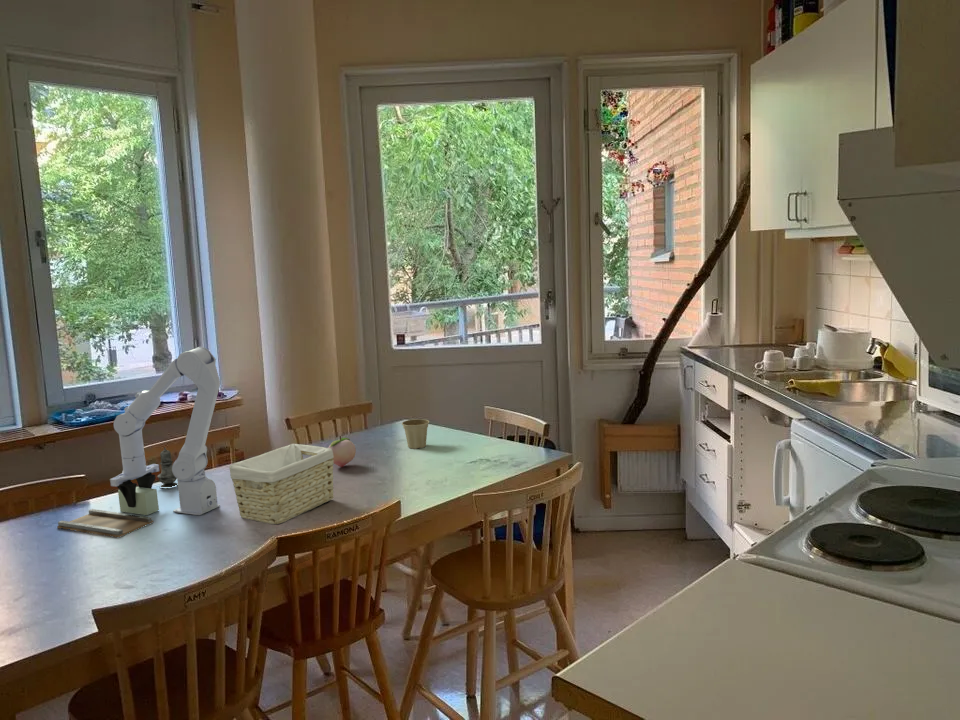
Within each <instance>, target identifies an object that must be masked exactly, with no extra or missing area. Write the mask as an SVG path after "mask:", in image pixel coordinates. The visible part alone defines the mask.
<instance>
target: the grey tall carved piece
mask: <svg viewBox="0 0 960 720" xmlns="http://www.w3.org/2000/svg"><path fill="white" fill-rule="evenodd" d="M173 463H174V461H173V460H172V455H171V451H170V450H168V449H167V448H166V447H164V448H163V450H162V451H160V463H159V465H160V466H161V472H160V473H159V474H158V475H157V478H158V480H159V482H160V483H161V485H160V486H161V487H172V486H175V485H177V484H178V482H176V481H177V478H176V477H175V476H174V474H173V472H172V465H173ZM162 484H163V485H162Z"/></svg>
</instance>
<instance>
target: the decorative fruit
mask: <svg viewBox="0 0 960 720" xmlns="http://www.w3.org/2000/svg"><path fill="white" fill-rule="evenodd" d="M327 448H331V449H332V451H333V456H334V457H333V460H334V464H333V465H336V466H337V467H340V468H343V467H345V466H346V465H347V464H349V463H350V462H351V461H353V460H354V458H355V456H356V452H357V451H356V450H357V449H356V445H355V444H354V443H353V441H351V439H350V438H348V437H342V435H340V436H339V438H338V439H336V440H333V441H332V442H331V443H330V444H329V446H328V447H327Z"/></svg>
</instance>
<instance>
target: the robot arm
mask: <svg viewBox="0 0 960 720" xmlns="http://www.w3.org/2000/svg"><path fill="white" fill-rule="evenodd" d="M216 363H217V361H216V357H215V356H214V355H213V354H212V353H211V351H210V349H208V348H205V347H204V346H198V347H197V346H196V347H195V348H193V349H191V350H188V351H184V352H181V353H180V354H179V355H178V356H177V358H175V359H174V360H172V362H171V363H170V364H169V365H168V366H167V367H166V369H165V370H164V371H163V373H162V374H161V375H160V377H159V378H158V379H156V382H155V383H154V384H153V385H152V386H151V388H150V389H149V390H142V391H139V392H137V393H135V395H134V400H133V401H132V402H131V403H130V404H129V406H125V408H124V409H123V410H124V413H120V414H118V415H116V417H115V419H114V420H113V429H114V431H115V432H116V433H117V434H118V438H119V446H120V447H119V448H120V455H121V464H122V472H121V473H120V474H118V475H116V476H114V477H112V478H110V479H109V482H110V487H117V490H120V491H121V492H122V494H123V496H124V498H125V500H126V502H127V504H128V507H133V508H134V507H136V497H135V492H136V487H143V488H151V489H153V488H152V487H153V485H154V482H155V480H156V474H153V473H157V472H160V463H159V464H156V463H152V464H149V465H146V464H147V463H146V457H145V455H146V454H145V446H144V438H143V428H144V427H145V425H146V421H147V420H148V419H149V418H150V417H151V415H152V414H153V413H154V412H155V411H156V410H157V409H158V408H159V406H160V405H161V397H162V396H163V395H164V394H165V393H166V392H167V390H169V389H170V388H171V386H173V384H174V383H175V382H176V381H177V380H178V379H179V378H181V377H184V376H185V377H187V378H188V379H189V380H190V381H192V382H193V383H194V384H195V386H196V387H197V392H196V396H195V399H194V404H193V408H192V413H191V415H190V416H191V417H190V421H189V423H188V428H187V431H186V437H185V441H184V444H183V445H182V447H181V449H180V450H179V452H178V457H177V458H176V459H175V461H173V463H172V472H173V474H174V476H175V477H176V478H177V479H176V481H177V484H178V486H177V489H178V490H177V491H178V498H179V499H178V500H179V507H177V508H175V509H173V513H179V514H187V515H193V516H202V515H203V514H206V513H207V512H210V511H212V510H214V509H217V508H219V507H220V506H221V504H220V503H218V497H217V485H216V483H215V481H213V480H212V479H210V478H208V477H207V475H206V472H205V469H206V468H207V465H208V457H207V452H208V447H207V445H206V443H207V438H208V434H209V431H210V428H211V427H210V426H211V421H212V418H213V415H214V411H215V406H216V402H217V398H218V394H219V391H220V387H221V380H220V377H219V373H218V369H217V366H216ZM133 480H136V482H137V483H136V482H135V483H134V482H133ZM137 485H138V486H137Z"/></svg>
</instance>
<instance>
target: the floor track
mask: <svg viewBox="0 0 960 720" xmlns="http://www.w3.org/2000/svg"><path fill="white" fill-rule="evenodd" d="M152 522H153V523H154V520H153V518H152V517H151V516H146V515H139V514H132V513H125V512H117V511H116V512H115V511H111V510H110V511H109V510H102V509H94V508H92V509H88V514H86V515H83V516H79V517H78V518H75V519H72V520H70V521H67V520H60V521H58V522H57V529H61V528H63V529H62V530H67V529H70V530H69V531H73V530H76V531H75V532H79V531H81V533H86V532H87V534H92V533H93V534H92V535H99V536H104V535H105V537H111V536H113V537H112V538H117V537H119V538H121V537H123V536H125V534H126V535H128V534H130V533H132V531H133V532H135V531H137V530H139V529H138V528H140V529H142V528H144V527H146V526H145V525H147V524H149V525H151V524H153V523H152ZM150 523H151V524H150ZM143 526H144V527H143ZM147 526H148V525H147ZM141 527H142V528H141ZM136 529H137V530H136ZM134 530H135V531H134ZM129 532H130V533H129ZM127 533H128V534H127ZM120 536H121V537H120Z"/></svg>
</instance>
